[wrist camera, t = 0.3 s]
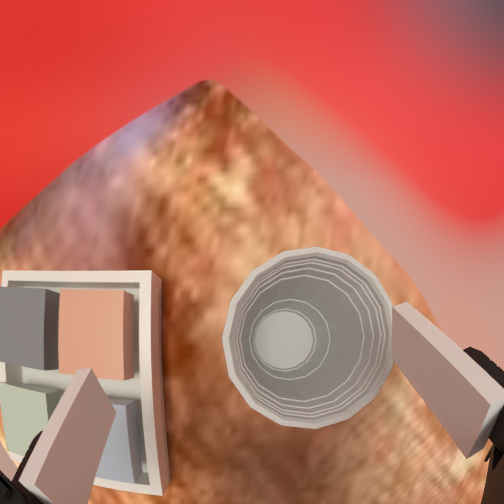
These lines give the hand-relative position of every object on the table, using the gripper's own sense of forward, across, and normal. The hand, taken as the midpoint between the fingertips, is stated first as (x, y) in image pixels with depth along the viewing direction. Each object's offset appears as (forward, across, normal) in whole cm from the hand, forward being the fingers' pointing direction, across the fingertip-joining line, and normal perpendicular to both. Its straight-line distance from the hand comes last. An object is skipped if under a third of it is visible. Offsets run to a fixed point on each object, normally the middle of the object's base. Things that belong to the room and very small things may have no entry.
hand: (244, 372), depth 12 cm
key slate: (+7, +14, +11) cm, 19 cm away
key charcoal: (+12, +20, +2) cm, 23 cm away
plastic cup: (+14, -3, +8) cm, 17 cm away
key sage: (+7, +21, +9) cm, 24 cm away
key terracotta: (+12, +12, +3) cm, 17 cm away
